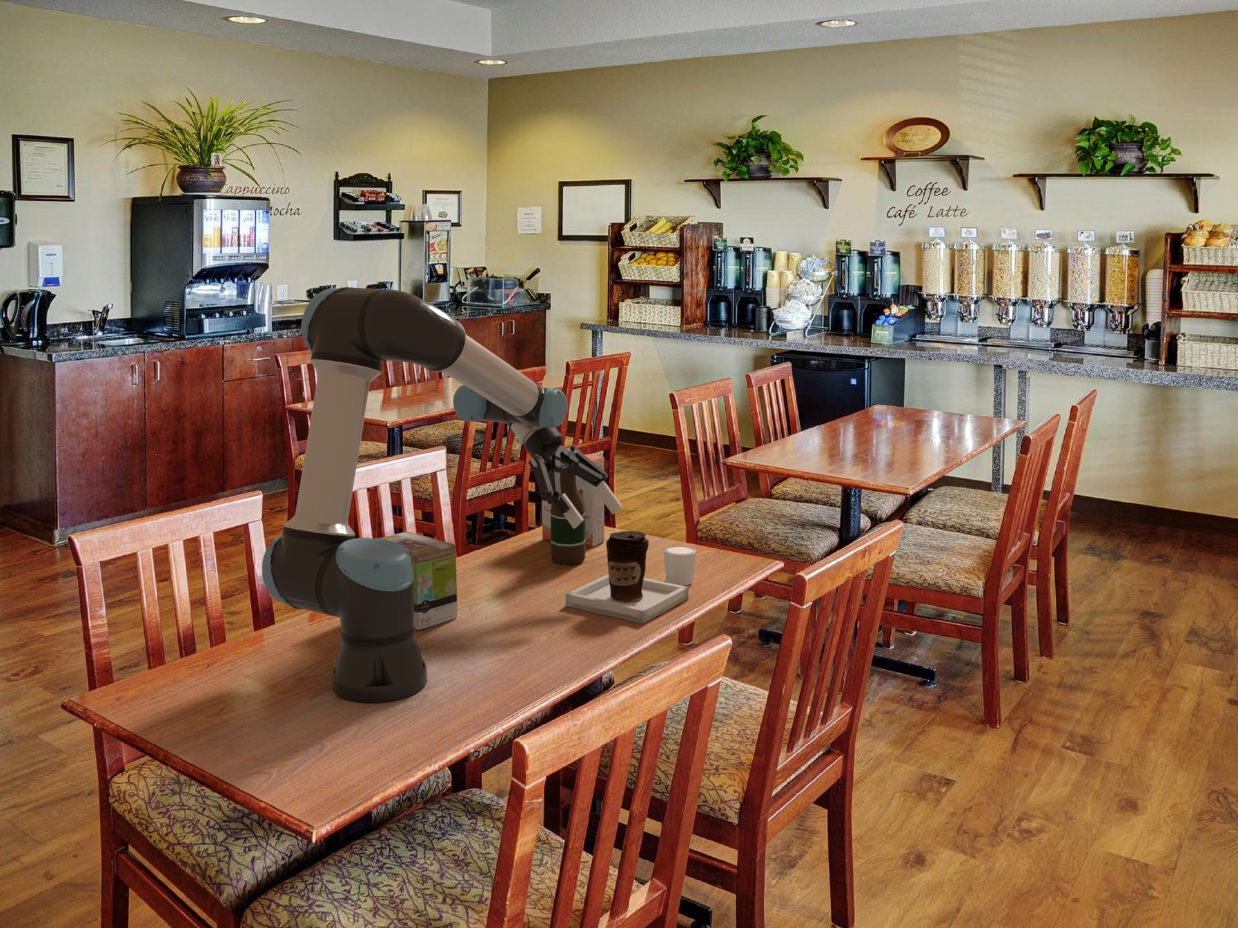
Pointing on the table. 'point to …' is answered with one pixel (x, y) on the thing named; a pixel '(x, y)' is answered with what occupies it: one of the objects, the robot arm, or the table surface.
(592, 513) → the cracker box
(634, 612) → the tray
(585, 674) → the table surface
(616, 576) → the coffee cup
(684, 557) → the shot glass
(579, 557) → the beer bottle
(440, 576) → the tea box
